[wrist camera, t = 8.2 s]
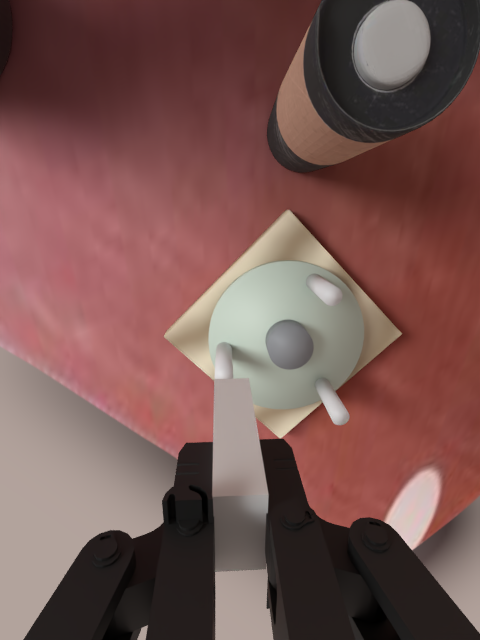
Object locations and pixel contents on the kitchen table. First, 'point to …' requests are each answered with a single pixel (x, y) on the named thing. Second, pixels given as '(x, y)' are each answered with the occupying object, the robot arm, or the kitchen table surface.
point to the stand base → (273, 245)
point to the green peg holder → (288, 335)
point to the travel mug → (371, 77)
